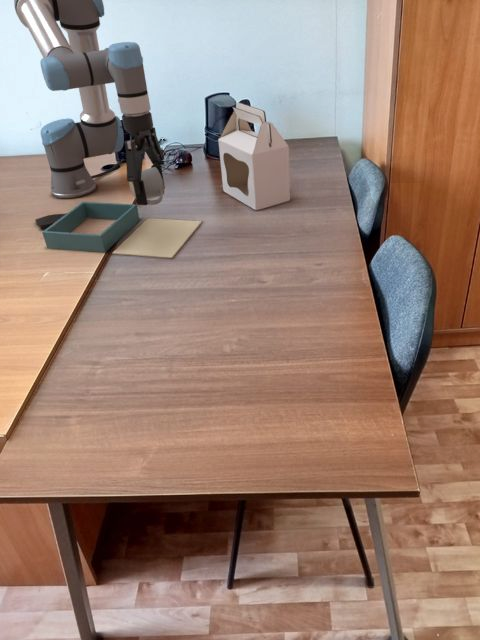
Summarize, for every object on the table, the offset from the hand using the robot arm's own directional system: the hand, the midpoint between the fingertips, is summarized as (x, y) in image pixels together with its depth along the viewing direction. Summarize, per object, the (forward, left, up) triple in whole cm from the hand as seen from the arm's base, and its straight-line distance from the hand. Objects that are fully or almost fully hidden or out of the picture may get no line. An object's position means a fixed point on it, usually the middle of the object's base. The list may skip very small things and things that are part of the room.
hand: (151, 196), depth 148 cm
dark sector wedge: (-6, -38, -13) cm, 40 cm away
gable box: (-35, +20, -13) cm, 42 cm away
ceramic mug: (0, 0, -1) cm, 1 cm away
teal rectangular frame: (0, -21, -12) cm, 24 cm away
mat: (0, 0, -12) cm, 12 cm away
